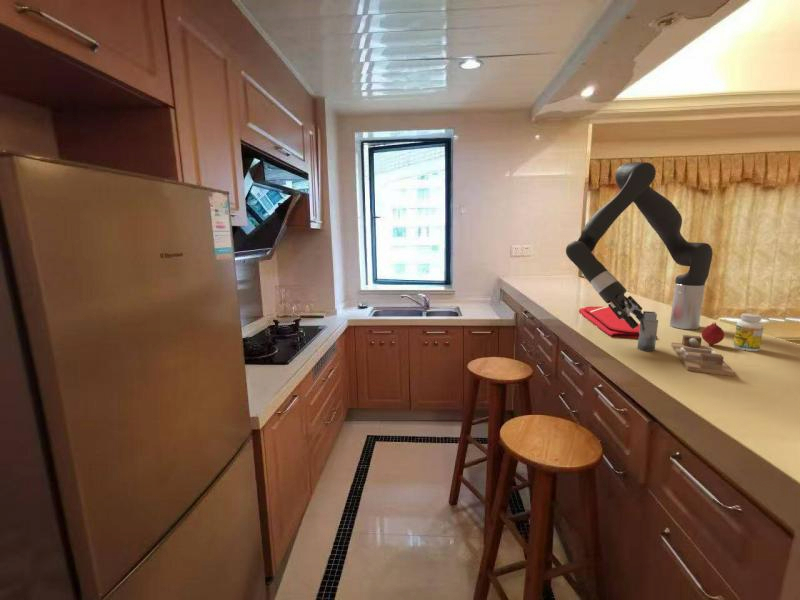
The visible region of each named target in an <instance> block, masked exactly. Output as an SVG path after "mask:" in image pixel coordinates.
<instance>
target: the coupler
mask: <svg viewBox="0 0 800 600" xmlns="http://www.w3.org/2000/svg"><path fill="white" fill-rule="evenodd" d="M642 311H643V310H642ZM642 313H643V318H641V319H640V321H639V324H640V328H639V337H638V338H637V350H639V349H640V351H643V350H644V352H654V351H655V350H656V345H657V344H656V343H657V342H656V341H657V338H656V335H658V327H659V320H658V319H657V318H658V316H657V315H658V314H657V313H656V312H655V311H647V310H644V311H643V312H642Z"/></svg>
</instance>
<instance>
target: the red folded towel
mask: <svg viewBox="0 0 800 600" xmlns="http://www.w3.org/2000/svg"><path fill="white" fill-rule="evenodd" d="M578 312H579V314H580V315H581V314H582V316H583V318H585V319H586V320H587V321H589V322H590V323H591V324H592V325H594V327H596V326H597V327H596V328H598V329H599V330H600V331H602V332H603V333H604V334H606V335H607V334H608V335H607V336H609V337H610V336H611V338H612V337H628V338H627V339H638V337H639V328H640V323H638V326H637V327H635V328H634V329H632V328H631V327H630V326H629V325H628V323H627V322H626V321H625V320H623V319H622V318H621V319H619V318H618V317H617V316H616V315H615V313H614V312H613V311H612V310H611V308H610V307H609V306H585V307H582V308H579V309H578ZM657 335H658V334H657ZM657 335H656V339H657V338H658V336H657Z"/></svg>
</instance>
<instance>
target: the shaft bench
mask: <svg viewBox="0 0 800 600" xmlns="http://www.w3.org/2000/svg"><path fill="white" fill-rule="evenodd" d="M702 339H703V338H702V336H700V335H699V336H698V335H691V334H690V335H688V334H682V341H681V342H671V343H670V344H671V345H670V346H671V347H672V350H673V351H674V352H675V354H676V355H677V357H678V358H679V359H680V361H681V362H682V364H683V366H684V367H685V368H686V370H687V371H689V372H694V373H696V372H697V373H703V374H711V375H719V376H720V375H721V376H728V377H735V374H736V373H735V372H736V371H734V370H733V369H732V368H731V367H730V366H729V364H727V363H726V362H725V360H724V356H723V355H722V354H719V353H717V352H716V351H715V350H714V349H713V348H712V347H711V345H702Z"/></svg>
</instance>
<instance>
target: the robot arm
mask: <svg viewBox="0 0 800 600" xmlns="http://www.w3.org/2000/svg"><path fill="white" fill-rule="evenodd" d="M656 173H657V171H656V167H655V165H654V164H652V163H650V162H646V161H643V162H642V161H634V162H633V161H632V162H630V161H629V162H626V163H623V164H621V165H620V166H619V167H617V169H616V172H615V175H614V176H615V184H616V185H617V186H618V187H619V188H620V191H619V192H618V193H617V194H616V195H615V196H614V197H613V198H612V199H610V200H609V201H608V202H607V203H605V204H604V205H603V206H601V207H600V209H598V210H597V211H596V212H595V213H594V214H593V215H592V216H591V218H590V219H589V220H588V222H587V223H586V224H585V225H584V227H583V228H582V230H581V234H580V236H579V237H578V239H577V240H574V241H571V242H569V243H568V245H567V246H566V248H565V254H566V257H567V258H568V259H569V261H571V262H572V263H573V264H574V265H575V267H576V268H578V270H580V273H582V275H583V277H584V278H585V280H587V281H588V282H589V284H590V285H591V286H592V288H593V289H594V291H595V292H596V293H597V294H598V296H600V297H601V299H602V300H603V301H604V302H605V304H608V305H607V307H610V308H611V310H612V311H613V312H614V313H615V315H616V316H617V317H618V318H619V319H621V318H622V319H623V320H625V321H626V322H627V323H628V325H629V326H630V327H631V328H632V329H634V328H635V327H637V326H638V324H639V323H638V322H637V321H639V322H640V319H641V318H643V312H642V311H643V307H642V306H641V305H640V304H639V303H638V301H636V300H635V299H634V298H633V296H631V295H629V296H626V295H625V294H626V293H627V288H625V287H624V286H623V284H622V283H621V282H620V281H619V280H618V279H617V277H616V276H615V275H614V274H612V273H611V272H610V271H609V270H608V269H607V268H606V267H605V266H604V264H603V263H602V262H600V261H599V260H598V259H597V257H596V256H595V255H594V254H593V251H594V250H595V248H596V246H597V245H598V243H599V241H600V240H601V239H602V238H603V236H604V235H605V233H607V231H608V230H609V229H610V228H611V226H612V225H613V223H614V222H615V221H616V220H617V219H618V218H619V217H620V216H621V215H622V214H623V212H624V211H626V209H627V208H628V207H629V206H631V205H632V203H633V204H634V205H635V206H636V207H637V209H638V210H639V211H640V212H641V214H642V215H643V217H644V218H645V220H646V221H647V223H648V224H649V225H650V226H651V228H652V229H653V230H654V232H655V233H656V234H657V235H658V236H659V238H660V240H661V241H662V243H663V244H664V246H665V248H666V249H667V251H668V253H669V255H670V256H671V258H672V259H673V261H674V262H675V263H676V264H677V265H679V266H683V267H688V268H689V269H688V271H687V272H686V273H684V274H680V275H677V276H676V277H675V282H674V289H673V290H674V291H673V297H672V298H673V299H672V304H671V305H672V306H671V314H670V319H669V326H670V327H673V328H676V329H681V330H682V329H683V330H698V329H699V328H700V321H701V315H702V308H703V304H704V303H703V302H704V293H705V288H706V287H705V286H706V281H707V279H708V277H709V275H710V274H709V273H710V270H711V265H712V260H713V248H712V246H711V245H710V244H709V243H708V242H693V241H692V242H689V241H687V240H686V239H685V238H684V237H683V235H682V234H681V228H682V223H683V217H682V215H681V213H680V211H679V210H678V208H677V207H676V206H675V204H673V203H672V202H671V201H670V200H669V199H668V198H666V197H665V196H663V195H662V194H660V193H659V192H657V191H656V190H654V189H653V188H652V186H651V185H652V184H653V182H654V180H655V178H656ZM630 313H631V314H632V315H634V316H635V318H636V319H637V321H636V320H635V319H634V318H633V316H632V315H631V314H630Z"/></svg>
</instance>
